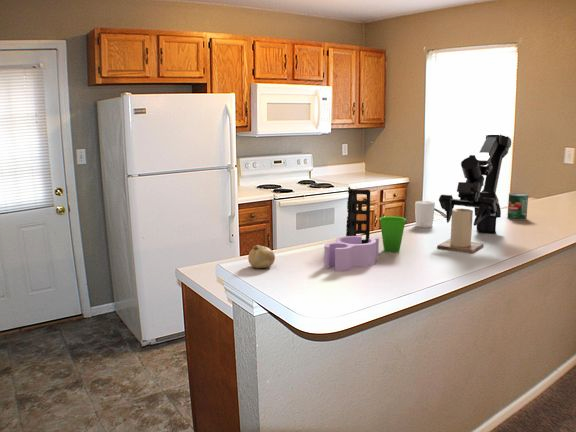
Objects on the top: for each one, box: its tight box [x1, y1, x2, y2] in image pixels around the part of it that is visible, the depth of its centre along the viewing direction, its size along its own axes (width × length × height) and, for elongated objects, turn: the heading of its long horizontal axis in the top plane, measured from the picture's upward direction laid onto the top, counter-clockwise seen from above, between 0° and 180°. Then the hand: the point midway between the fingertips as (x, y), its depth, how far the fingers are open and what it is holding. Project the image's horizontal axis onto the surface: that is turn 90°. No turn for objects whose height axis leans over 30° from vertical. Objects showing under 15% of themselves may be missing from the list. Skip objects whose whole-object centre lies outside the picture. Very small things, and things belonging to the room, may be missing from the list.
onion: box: [247, 244, 276, 269], centre depth 154 cm, size 8×8×7 cm
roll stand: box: [436, 238, 485, 254], centre depth 176 cm, size 12×12×6 cm
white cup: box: [414, 200, 436, 228], centre depth 212 cm, size 8×8×10 cm
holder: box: [345, 186, 371, 244], centre depth 181 cm, size 11×8×20 cm
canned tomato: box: [507, 192, 529, 221], centre depth 226 cm, size 8×8×11 cm
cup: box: [378, 215, 407, 254], centre depth 172 cm, size 9×9×11 cm
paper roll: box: [450, 208, 474, 247], centre depth 176 cm, size 6×6×12 cm
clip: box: [323, 234, 380, 272], centre depth 158 cm, size 20×12×7 cm, turn 137°
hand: (460, 223), depth 175 cm, fingers open, 9 cm apart
